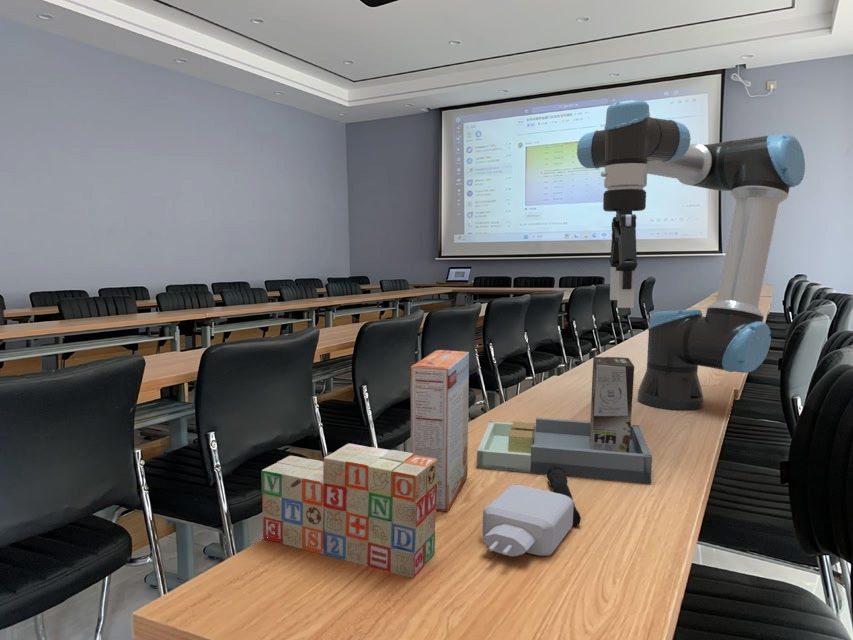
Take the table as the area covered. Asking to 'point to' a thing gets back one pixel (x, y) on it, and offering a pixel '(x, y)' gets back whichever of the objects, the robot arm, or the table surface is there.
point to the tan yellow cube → (520, 441)
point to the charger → (527, 521)
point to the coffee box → (611, 404)
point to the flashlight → (562, 488)
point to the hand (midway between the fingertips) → (621, 303)
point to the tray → (501, 450)
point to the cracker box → (442, 418)
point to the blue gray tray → (588, 453)
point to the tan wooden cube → (524, 427)
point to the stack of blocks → (355, 506)
